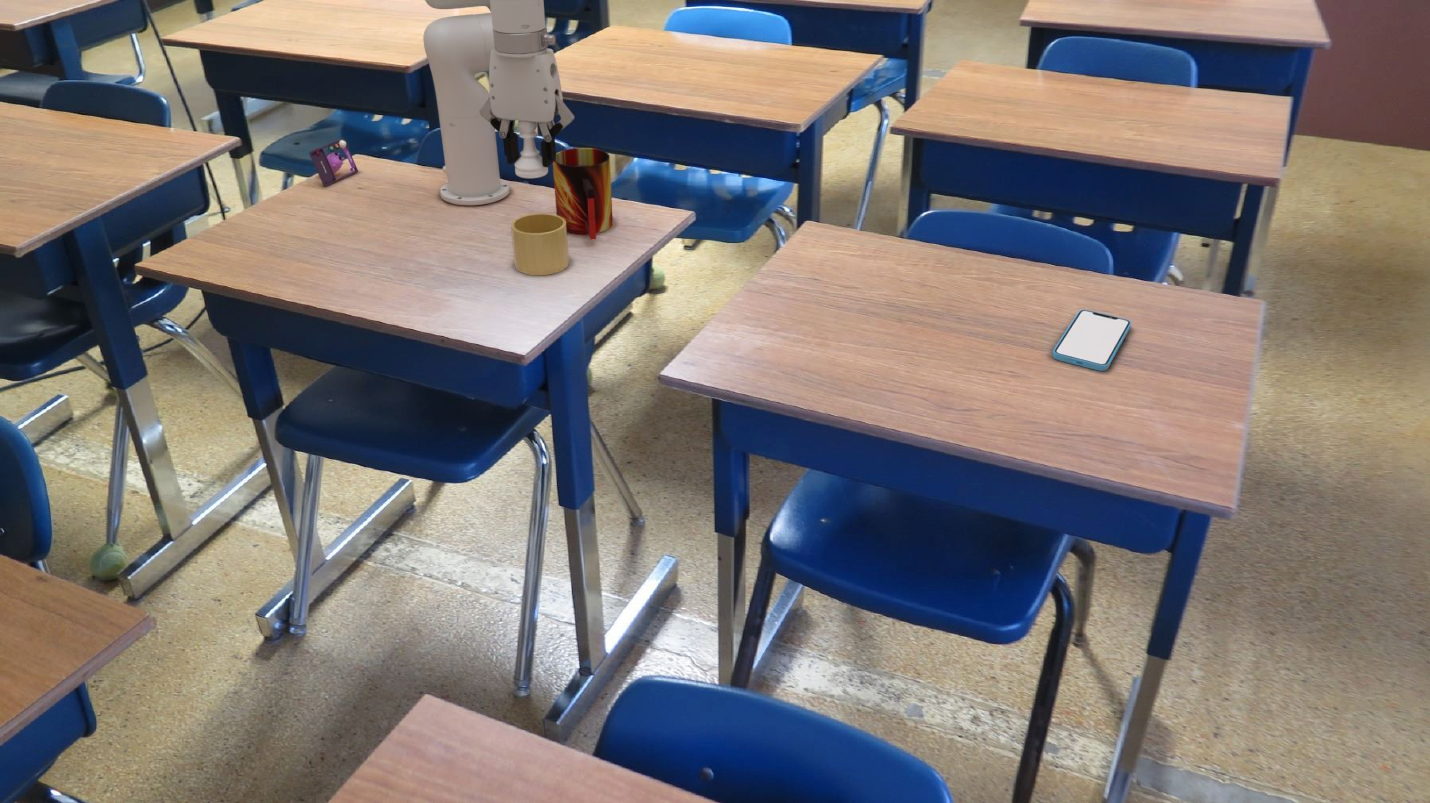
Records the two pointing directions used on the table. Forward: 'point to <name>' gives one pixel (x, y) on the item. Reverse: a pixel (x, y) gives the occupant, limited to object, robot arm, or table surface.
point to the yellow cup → (540, 244)
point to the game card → (331, 162)
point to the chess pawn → (529, 153)
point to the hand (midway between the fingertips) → (530, 161)
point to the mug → (583, 190)
